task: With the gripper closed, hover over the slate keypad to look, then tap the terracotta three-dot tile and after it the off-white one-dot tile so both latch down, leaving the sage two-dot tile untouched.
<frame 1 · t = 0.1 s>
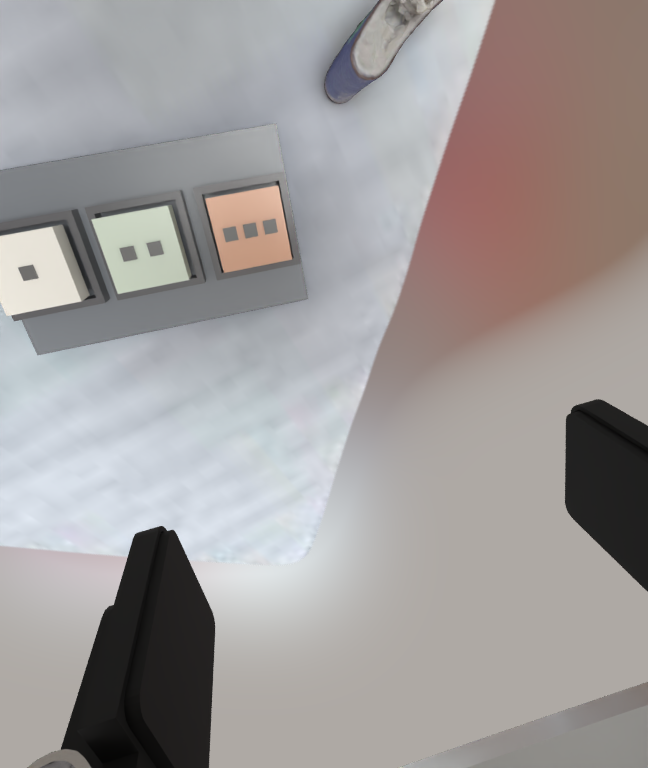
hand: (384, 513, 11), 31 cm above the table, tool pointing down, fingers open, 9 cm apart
flask: (369, 46, 34), on the table
keypad board: (154, 242, 36), on the table
tile 1: (34, 270, 31), point 4 cm above the table, slide at 0.0 cm
tile 2: (144, 249, 32), point 4 cm above the table, slide at 0.0 cm
tile 3: (250, 229, 33), point 4 cm above the table, slide at 0.0 cm
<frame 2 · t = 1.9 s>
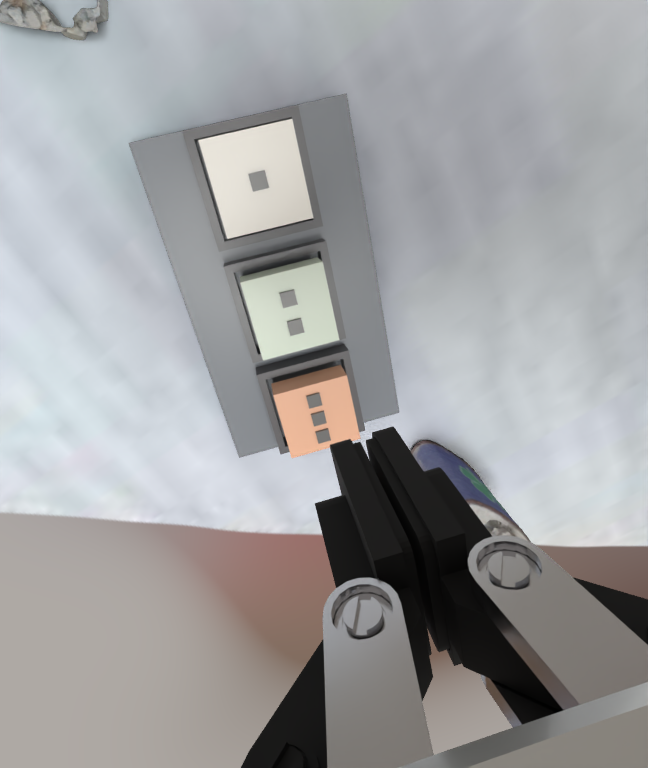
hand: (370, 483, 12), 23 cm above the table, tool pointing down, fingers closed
flask: (447, 467, 42), on the table
keypad board: (283, 294, 33), on the table
tile 1: (257, 181, 26), point 4 cm above the table, slide at 0.0 cm
tile 2: (290, 309, 29), point 4 cm above the table, slide at 0.0 cm
tile 3: (316, 412, 32), point 4 cm above the table, slide at 0.0 cm
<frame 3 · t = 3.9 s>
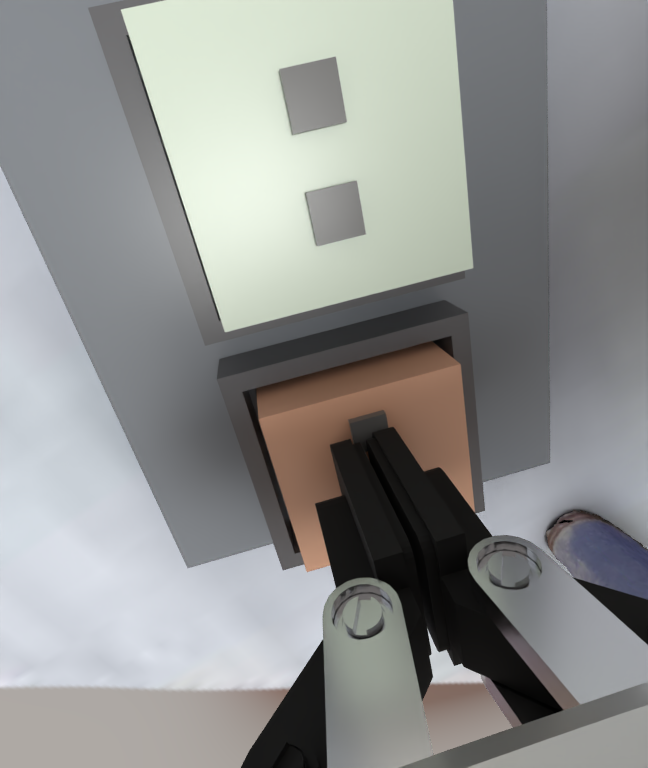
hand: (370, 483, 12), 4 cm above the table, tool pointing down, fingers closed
flask: (607, 558, 21), on the table
keypad board: (292, 170, 13), on the table
tile 2: (316, 161, 9), point 4 cm above the table, slide at 0.0 cm
tile 3: (369, 457, 13), point 3 cm above the table, slide at 1.1 cm, touching gripper
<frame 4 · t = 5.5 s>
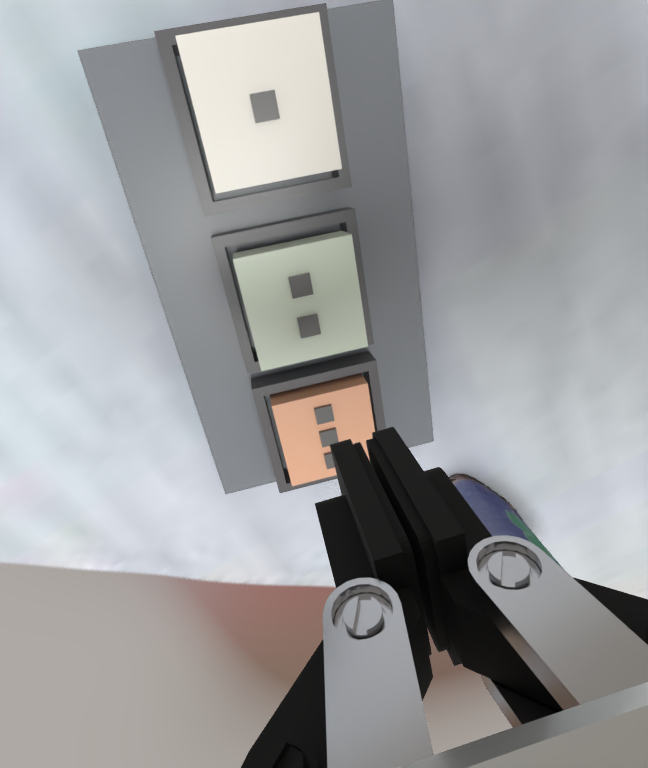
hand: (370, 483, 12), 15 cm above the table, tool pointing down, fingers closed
flask: (484, 508, 33), on the table
keypad board: (291, 283, 25), on the table
tile 1: (263, 111, 18), point 4 cm above the table, slide at 0.0 cm
tile 2: (302, 301, 21), point 4 cm above the table, slide at 0.0 cm
tile 3: (325, 428, 25), point 3 cm above the table, slide at 1.4 cm
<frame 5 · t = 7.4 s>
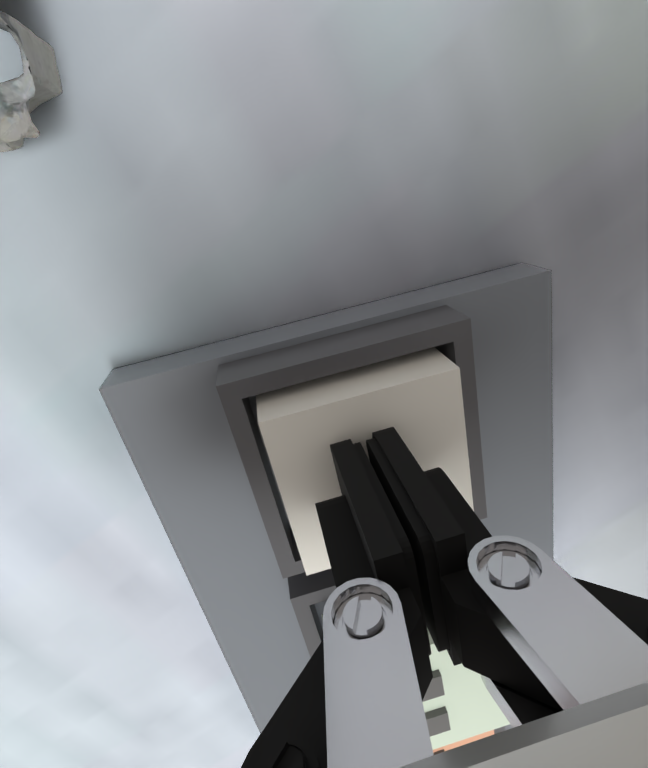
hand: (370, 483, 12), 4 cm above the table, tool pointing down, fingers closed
keypad board: (381, 571, 19), on the table
tile 1: (368, 460, 13), point 3 cm above the table, slide at 1.3 cm, touching gripper
tile 2: (418, 673, 15), point 4 cm above the table, slide at 0.0 cm
tile 3: (429, 753, 19), point 3 cm above the table, slide at 1.4 cm
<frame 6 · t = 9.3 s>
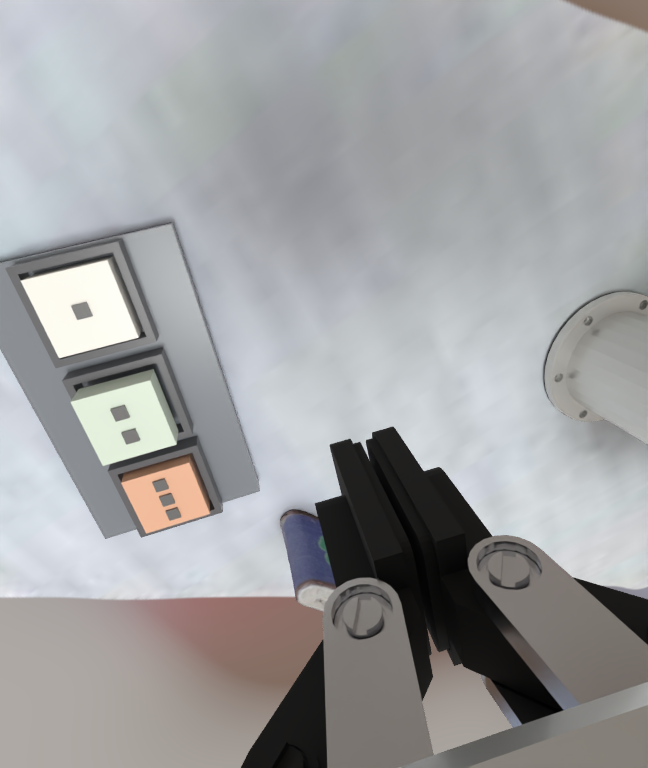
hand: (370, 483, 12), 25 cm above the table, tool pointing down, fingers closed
flask: (319, 531, 44), on the table
keypad board: (137, 392, 35), on the table
tile 1: (86, 307, 29), point 3 cm above the table, slide at 1.4 cm
tile 2: (128, 418, 31), point 4 cm above the table, slide at 0.0 cm
tile 3: (168, 491, 35), point 3 cm above the table, slide at 1.4 cm
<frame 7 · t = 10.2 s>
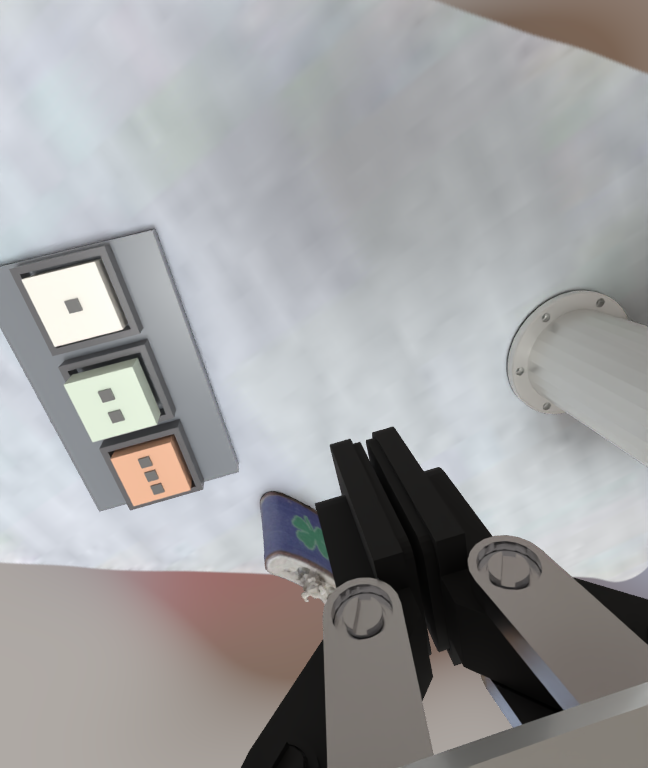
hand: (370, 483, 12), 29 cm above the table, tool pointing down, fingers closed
flask: (297, 513, 48), on the table
keypad board: (126, 379, 39), on the table
tile 1: (78, 302, 33), point 3 cm above the table, slide at 1.4 cm
tile 2: (114, 400, 35), point 4 cm above the table, slide at 0.0 cm
tile 3: (153, 469, 40), point 3 cm above the table, slide at 1.4 cm
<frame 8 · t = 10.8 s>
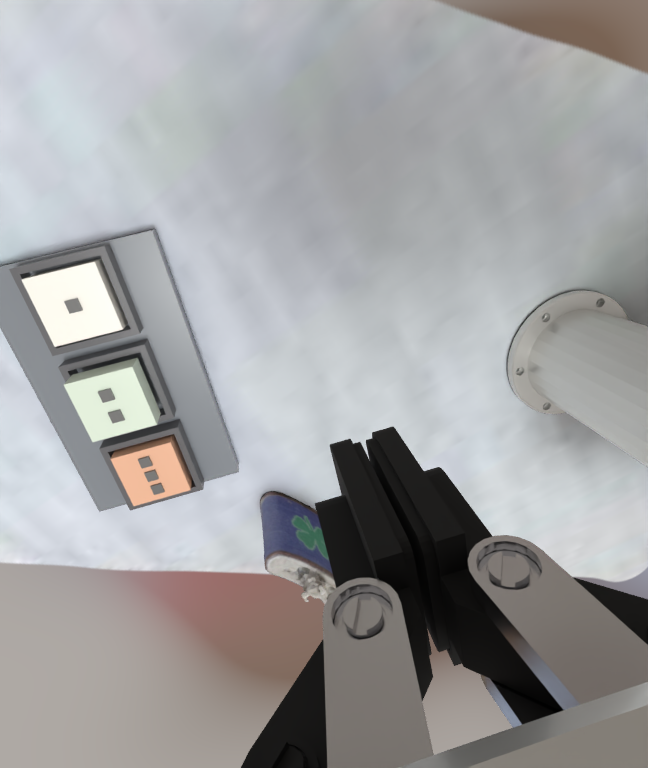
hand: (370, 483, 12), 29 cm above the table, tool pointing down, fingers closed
flask: (297, 513, 48), on the table
keypad board: (126, 379, 39), on the table
tile 1: (78, 302, 33), point 3 cm above the table, slide at 1.4 cm
tile 2: (114, 400, 35), point 4 cm above the table, slide at 0.0 cm
tile 3: (153, 469, 40), point 3 cm above the table, slide at 1.4 cm
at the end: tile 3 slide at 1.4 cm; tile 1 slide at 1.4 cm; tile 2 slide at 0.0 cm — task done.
